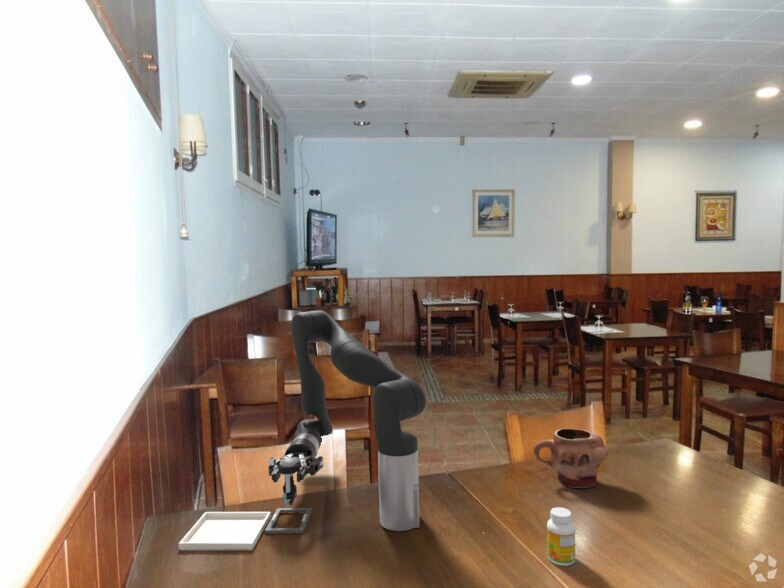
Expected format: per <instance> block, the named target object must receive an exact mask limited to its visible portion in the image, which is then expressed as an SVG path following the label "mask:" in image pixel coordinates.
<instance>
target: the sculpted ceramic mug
mask: <svg viewBox="0 0 784 588" xmlns="http://www.w3.org/2000/svg"><path fill="white" fill-rule="evenodd" d="M544 448H547V449H549V450H550V458H548V460H543V459H542V458H541V457H540V452H541V450H542V449H544ZM533 455H534V457H535V459H537V461H539V463H542V465H544V466H545V467H547V468H548V469H550V470H551V471H556V473H557V480H558V481H559V482H560V483H561V484H562V485H563V486H566V487H569V488H575V489H576V488H577V489H578V488H579V489H585V488H586V489H588V488H593V487H595V486H596V485H597V483H598V480H597V471H598V468H599V467H600V466H601V465H602V463H603V462H604V461H605V460H606V459H607V457H609V455H610V450H609V448H608V446H606V445H605V444H604V439H603V438H602V437H601V436H600V435H599V434H598V433H596V432H592V431H589V430H587V429H586V430H585V429H577V428H560V429H557V430H555V431H554V432H553V437H552V439H544V440H540V441H538V442H537V443H535V446H534V447H533Z"/></svg>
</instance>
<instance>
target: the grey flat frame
mask: <svg viewBox="0 0 784 588" xmlns="http://www.w3.org/2000/svg"><path fill="white" fill-rule="evenodd" d="M285 511H286V512H306V513H303V517H302V519H301V523H300V526H299V527H274V526H275V524H276V523H275V522H277V521H278V519H279V517H280V515H281V513H280V512H285ZM311 511H312V512H313V508H312V507H277V508H276V510H275V512H274V514H273V515H272V516H271V519H270V521H269V522H268V524H267V526H266V528H265V529H264V534H265V535H269V534H271V535H275V534H276V533H277V535H279V534H278V533H303V534H304V532H305V529H306V527H307V525H308V522H309V520H308V519H310V517H311V515H312V513H311ZM279 514H280V515H279ZM310 514H311V515H310ZM278 516H279V517H278ZM309 516H310V517H309ZM277 518H278V519H277ZM276 520H277V521H276ZM307 521H308V522H307ZM306 524H307V525H306ZM305 526H306V527H305ZM303 531H304V532H303ZM266 533H267V534H266ZM268 533H269V534H268Z"/></svg>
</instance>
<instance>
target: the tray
mask: <svg viewBox="0 0 784 588" xmlns="http://www.w3.org/2000/svg"><path fill="white" fill-rule="evenodd" d="M270 518H271V519H272V512H271V511H205V512H204V513H203V514H202V515H201V517H200V518H198V520H197V521H196V522H195V523H194V525H193V526H192V527H191V529H190V530H188V532H186V534H185V535H184V536H183V537H182V539H181V540H180V541H179V542H178V551H254V549H253V548H255V546H257V544H258V542H257V541H259V540H260V538H261V537H262V535H261V534H263V533H262V532H265V529H266V528H265V527H267V526H268V524H269V522H270V521H269V520H271V519H270ZM266 525H267V526H266ZM258 539H259V540H258Z"/></svg>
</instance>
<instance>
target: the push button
mask: <svg viewBox="0 0 784 588" xmlns="http://www.w3.org/2000/svg"><path fill="white" fill-rule="evenodd" d="M299 466H300V462H299V461H297V460H296V458H294V457H286V458H283V459H281V462H279V463H278V464H277V468H278V471H279V473H281V474H283V475H282V476H284V485H283V486H282V493H283V495H282V502H283V503H284V504H283V505H284V506H285V507H284V508H290V506H292V505H293V504H294V502H295V501H297V498H298V494H297V493H298V491H297V488H298V487H297V484H295V480H294V474H297V471H298V470H299Z"/></svg>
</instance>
